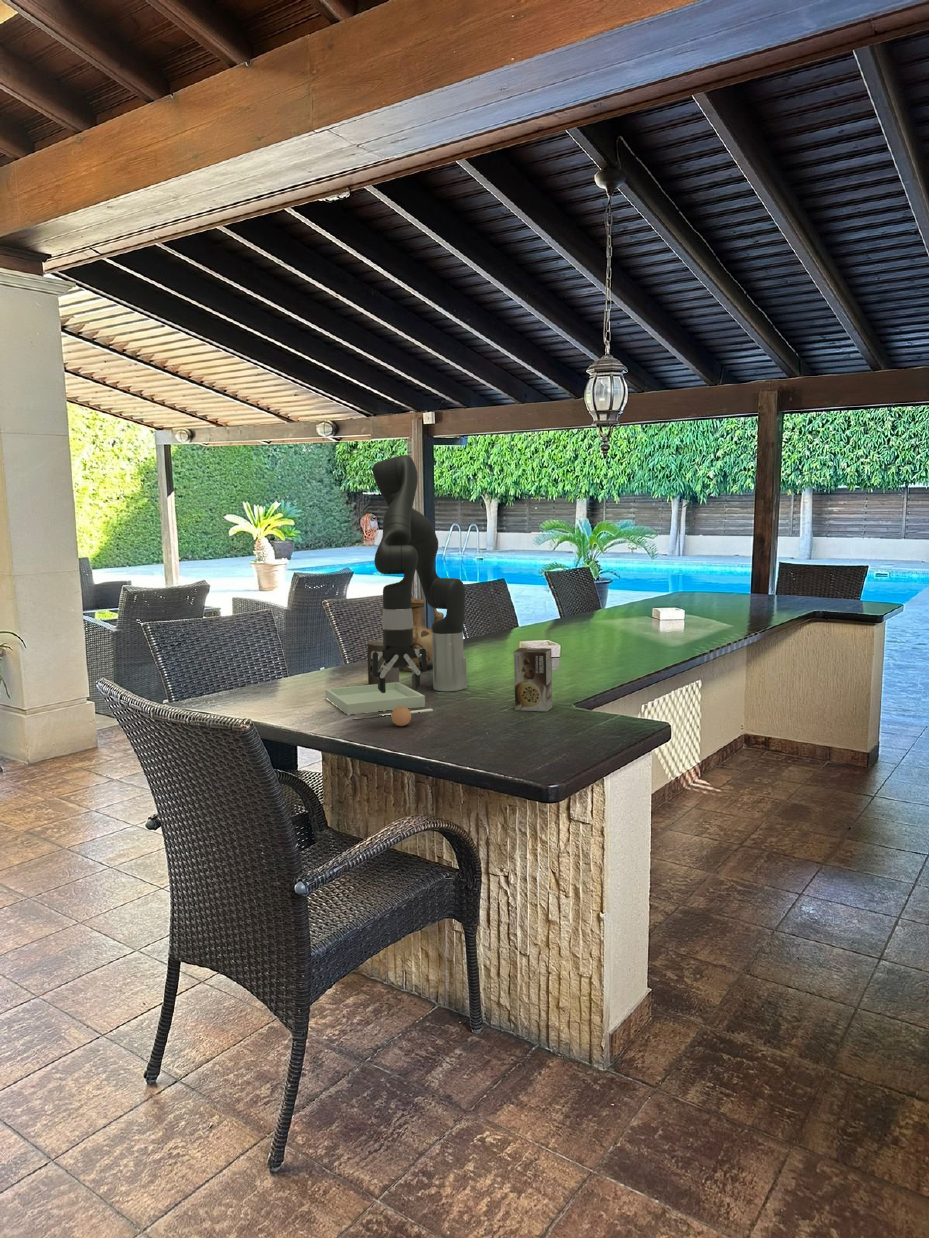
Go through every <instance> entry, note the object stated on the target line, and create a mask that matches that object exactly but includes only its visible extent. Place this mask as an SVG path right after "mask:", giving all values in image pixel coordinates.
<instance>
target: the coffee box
mask: <svg viewBox="0 0 929 1238" xmlns="http://www.w3.org/2000/svg"><path fill="white" fill-rule="evenodd" d="M552 662H553V661H552V648H549V647H548V648H543V647H519V648H517V649H516V650H515V651H513V665H514V666H513V668H514V669H513V670H514V672H513V673H514V674H513V675H514V711H529V712H546V713H547V712H549V711H550V710H551V709H552V708H553V682H552V681H553V672H552V671H553V666H552Z"/></svg>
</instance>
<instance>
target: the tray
mask: <svg viewBox="0 0 929 1238" xmlns="http://www.w3.org/2000/svg"><path fill="white" fill-rule="evenodd" d="M385 688H386V692H385V693H381V692H380V691H379V690H378V684H373V685H368V684H365V685H357V686H355V685H354V686H344V687H336V688H325V690H324V691H325V699H326V698H328V699H329V700H330V701H331V702H333V703H334V704H335V705H337V706H338V707H339V708H341V709H342V710H343V711H344V712H346V713H347V714H348V713H355V712H356V713H357V712H374V713H379V712H378V711H383V712H387V711H386V710H392V711H393V710H394V709H395V708H396V707H398V706H405V707H407V708H409V709H417V708H424V707H426V695H424V694H422V693H420V692H418V691H417V690H414V689H413V688H410V687H409V686H407V685H405V684H403V683H401V682H400V681H399V682H393V683H385Z"/></svg>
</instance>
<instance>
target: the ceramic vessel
mask: <svg viewBox="0 0 929 1238" xmlns="http://www.w3.org/2000/svg"><path fill="white" fill-rule="evenodd" d="M411 599H412V615H413V648H414V649H418V648H419V647H421V648H424V649H425V650H426V660H427V663H428V662H429V661H433V646H432V627H431V628H427V627H426V626H425V624H424V620H423V612H424V606H425V600H424V599H421V598H415V597H414V598H411ZM383 609H384V608H383V607H382V609H381V616H382V617H383ZM432 610H433V613H434V614H433V615H434V617H433V619H434V621H433V623H434V622H436V621H439V620H441V619H443V618H444V617H445V615H444V613H443V612H441V611H438V610H437V609H436V608H433V609H432ZM412 661H413V662H414V664H415V665H416V667H417V668H419V657H417V655H416V653H415V655H414V656H413V658H412ZM401 669H402V670H403V671H406V672H407V671H408V672H412V671H411V669H410V668H409V667H408V666H406V667H401Z"/></svg>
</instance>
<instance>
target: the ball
mask: <svg viewBox="0 0 929 1238" xmlns="http://www.w3.org/2000/svg"><path fill="white" fill-rule="evenodd" d="M410 711H411V710H410V708H409V709H408V708H407V707H405V706H398V707H396V708H395V709H394V710H392V711H391V713H392V714H391V716H390V717H391V721H392V722H393V724H395V725H396V726H398V727H404V726H406V725H408V724H409V723H410V722H411V719H412V713H411V712H410Z"/></svg>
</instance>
